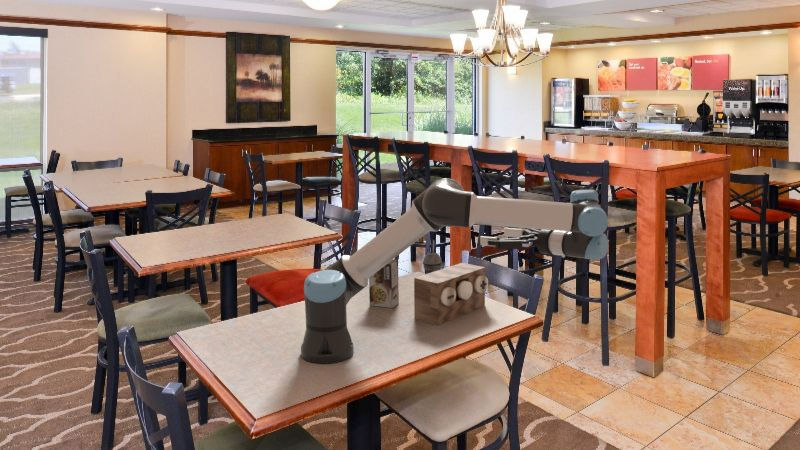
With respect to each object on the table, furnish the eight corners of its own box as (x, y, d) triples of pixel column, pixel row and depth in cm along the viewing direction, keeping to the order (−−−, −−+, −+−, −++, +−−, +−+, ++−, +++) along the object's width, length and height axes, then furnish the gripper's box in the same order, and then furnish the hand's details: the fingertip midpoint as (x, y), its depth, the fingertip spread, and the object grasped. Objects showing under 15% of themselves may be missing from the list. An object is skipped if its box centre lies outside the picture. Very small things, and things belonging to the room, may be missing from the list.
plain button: (461, 301, 213) (461, 283, 212) (456, 300, 214) (456, 282, 213) (472, 297, 217) (472, 280, 216) (467, 296, 219) (467, 278, 217)
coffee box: (399, 303, 231) (398, 259, 228) (392, 308, 225) (391, 263, 222) (376, 300, 235) (375, 257, 231) (368, 305, 229) (367, 261, 226)
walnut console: (443, 326, 207) (443, 284, 204) (414, 318, 215) (414, 277, 212) (490, 307, 225) (491, 268, 223) (462, 300, 234) (462, 262, 231)
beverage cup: (419, 293, 242) (419, 241, 238) (427, 288, 248) (427, 237, 244) (437, 296, 238) (437, 243, 234) (445, 291, 244) (445, 239, 241)
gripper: (533, 264, 181) (470, 256, 195) (573, 245, 199) (514, 239, 213) (532, 238, 180) (469, 232, 194) (573, 221, 198) (513, 217, 212)
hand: (492, 236), depth 204 cm, fingers open, 13 cm apart
